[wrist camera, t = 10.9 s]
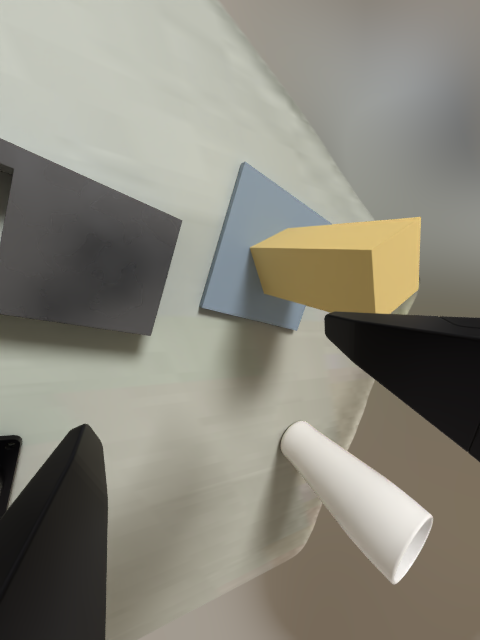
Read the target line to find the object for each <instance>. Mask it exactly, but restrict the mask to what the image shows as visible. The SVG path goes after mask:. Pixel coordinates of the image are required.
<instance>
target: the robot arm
mask: <svg viewBox="0 0 480 640" xmlns="http://www.w3.org/2000/svg"><path fill="white" fill-rule="evenodd" d="M324 320H325V334H326V336H327V338H328V339H329V340H330V341H331V342H332V343H333V344H335V345H336V346H337V347H338V348H339V349H340V350H341V351H342V352H343V353H344V354H345V355H346V356H347V357H348V358H349V359H350V360H351V361H353V362H354V363H355V364H356V365H357V366H359V367H360V368H361V369H362V370H364V371H365V372H366V373H367V374H369V375H370V376H371V377H373V378H374V379H375V380H376V381H378V382H379V383H380V384H381V385H383V386H384V387H385V388H386V389H388V390H389V391H391V392H392V393H393V394H394V395H395V396H397V397H398V398H399V399H401V400H402V401H403V402H404V403H406V404H407V405H408V406H410V407H411V408H412V409H413V410H414V411H416V412H417V413H419V414H420V415H421V416H422V417H423V418H425V419H426V420H427V421H429V422H430V423H431V424H432V425H434V426H435V427H436V428H437V429H439V430H440V431H441V432H443V433H444V434H445V435H446V436H448V437H449V438H450V439H451V440H453V441H454V442H455V443H457V444H458V445H459V446H460V447H462V448H463V449H464V450H465V451H467V452H468V453H469V454H470V455H471V456H473V457H474V458H475V459H477V460H478V461H479V462H480V318H468V317H444V316H442V317H441V316H440V317H438V316H422V315H421V316H420V315H400V314H379V313H358V312H337V311H334V312H331V313H329V314H327V315H326V316H325V319H324ZM8 443H15V444H14V445H8ZM21 443H22V438H21V437H20V436H17V435H10V436H0V640H105V623H106V573H107V523H108V495H107V484H106V474H105V464H104V454H103V446H102V443H101V441H100V439H99V438H98V437H97V435H96V434H95V432H94V431H93V430H92V428H91V427H90V426H89V425H88V424H83V425H80V426H78V427H76V428H74V429H72V430H70V431H69V432H68V434H67V435H66V436H65V438H64V439H63V440H62V441H61V443H60V444H59V445H58V446H57V448H56V449H55V450H54V451H53V453H52V454H51V455H50V457H49V458H48V459H47V460H46V462H45V463H44V464H43V465H42V467H41V468H40V469H39V470H38V472H37V473H36V474H35V476H34V477H33V478H32V479H31V481H30V482H29V483H28V484H27V486H26V487H25V488H24V490H23V491H22V492H21V493H20V495H19V496H18V497H17V498H16V500H15V501H14V502H13V503H12V505H11V506H10V507H9V509H8V510H7V507H8V503H9V498H10V494H11V489H12V484H13V480H14V475H15V471H16V466H17V462H18V457H19V453H20V448H21Z"/></svg>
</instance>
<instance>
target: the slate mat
mask: <svg viewBox="0 0 480 640" xmlns="http://www.w3.org/2000/svg"><path fill="white" fill-rule="evenodd" d="M320 225H332V224H331V223H330V222H329V221H327V220H326V219H324V218H323V217H322V216H320V215H319V214H317V213H316V212H315V211H313V210H312V209H310V208H309V207H308V206H306V205H305V204H303V203H302V202H301V201H299V200H298V199H297V198H295V197H294V196H292V195H291V194H290V193H288V192H287V191H285V190H284V189H283V188H281V187H280V186H278V185H277V184H276V183H274V182H273V181H271V180H270V179H269V178H267V177H266V176H264V175H263V174H262V173H260V172H259V171H258V170H256V169H255V168H253V167H252V166H251V165H249V164H248V163H246V162H244V163H242V164H241V166H240V170H239V173H238V177H237V180H236V183H235V187H234V190H233V194H232V197H231V200H230V204H229V207H228V211H227V214H226V217H225V221H224V224H223V228H222V231H221V234H220V238H219V241H218V245H217V248H216V251H215V255H214V258H213V262H212V265H211V269H210V272H209V275H208V279H207V282H206V286H205V289H204V292H203V296H202V299H201V303H200V307H202V308H205V309H209V310H213V311H217V312H222V313H226V314H230V315H234V316H238V317H242V318H247V319H251V320H255V321H259V322H263V323H267V324H271V325H276V326H280V327H284V328H288V329H292V330H296V331H297V329H298V327H299V324H300V321H301V318H302V315H303V312H304V309H305V306H306V305H303V304H299V303H296V302H292V301H288V300H285V299H281V298H278V297H274V296H271V295H267V294H264V292H263V289H262V286H261V282H260V279H259V276H258V273H257V270H256V266H255V263H254V260H253V257H252V254H251V250H250V247H252V246H254V245H256V244H258V243H260V242H262V241H264V240H266V239H267V238H269V237H271V236H273V235H275V234H277V233H279V232H281V231H283V230H285V229H287V228H296V227H308V226H320Z"/></svg>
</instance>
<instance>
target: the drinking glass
mask: <svg viewBox="0 0 480 640" xmlns="http://www.w3.org/2000/svg"><path fill="white" fill-rule="evenodd" d="M281 451H282V453H283V454H284V456H285V457H286V458H287V459H288V460H289V461H290V462H291V463H292V465H293V466H294V467H295V468H296V470H297V471H298V472H299V473H300V475H301V476H302V477H303V478H304V480H305V481H306V482H307V484H308V485H309V486H310V487H311V489H312V490H313V491H314V493H315V494H316V495H317V496H318V498H319V499H320V500H321V502H322V503H323V504H324V505H325V507H326V508H327V509H328V511H329V512H330V513H331V514H332V516H333V517H334V518H335V520H336V521H337V522H338V523H339V525H340V526H341V527H342V528H343V530H344V531H345V532H346V534H347V535H348V536H349V537H350V538H351V540H352V541H353V542H354V543H355V544H356V545H357V547H358V548H359V549H360V550H361V551H362V552H363V553H364V555H365V556H366V557H367V558H368V559H369V560H370V561H371V562H372V563H373V564H374V565H375V566H376V568H377V569H378V570H379V571H380V572H381V573H382V574H383V575H384V576H385V577H386V578H387V579H388V580H389V581H390V582H391V583H392V584H396V583H398V582H399V581H400V580H401V579H402V578H403V576H404V575H405V574H406V573H407V571H408V570H409V568H410V567H411V566H412V564H413V562H414V561H415V559H416V558H417V556H418V554H419V552H420V550H421V549H422V547H423V545H424V543H425V541H426V539H427V537H428V534H429V532H430V530H431V526H432V523H433V517H432V515H431V514H430V513H429V512H427V511H426V510H425V509H424V508H423V507H421V506H420V505H419V504H418V503H417V502H416V501H414V500H413V499H412V498H411V497H410V496H408V495H407V494H406V493H404V491H402V490H401V489H400V488H398V487H397V486H396V485H395V484H393V483H392V482H391V481H389V480H388V479H387V478H385V477H384V476H382V475H381V474H379V473H378V472H377V471H375V470H374V469H372V468H371V467H370V466H368V465H366V464H365V463H364V462H362V461H361V460H359V459H358V458H356V457H355V456H353V455H352V454H351V453H349V452H348V451H346V450H345V449H343V448H342V447H340V446H339V445H338V444H336V443H335V442H333V441H332V440H330V439H329V438H327V437H326V436H325V435H323V434H322V433H320V432H319V431H318V430H316V429H315V428H314V427H313V426H311V425H310V424H309V423H307V422H305V421H298V422H295V423H293V424H292V425H291V426H290V427H289V428H288V429H287V430H286V432H285V433H284V435H283V437H282V440H281Z"/></svg>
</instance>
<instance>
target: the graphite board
mask: <svg viewBox="0 0 480 640" xmlns="http://www.w3.org/2000/svg"><path fill="white" fill-rule="evenodd" d="M0 170H1V171H3V172H6V173H8V174H11V175H13V178H12V183H11V189H10V194H9V199H8V205H7V210H6V215H5V221H4V226H3V231H2V237H1V242H0V314H4V315H11V316H18V317H25V318H32V319H38V320H45V321H52V322H59V323H66V324H73V325H80V326H87V327H93V328H100V329H107V330H114V331H121V332H128V333H135V334H142V335H148V336H151V333H152V329H153V326H154V322H155V318H156V315H157V311H158V307H159V304H160V300H161V297H162V293H163V289H164V286H165V282H166V278H167V275H168V271H169V267H170V264H171V260H172V256H173V253H174V249H175V245H176V242H177V238H178V234H179V231H180V227H181V223H182V220H180V219H178V218H176V217H173V216H171V215H169V214H167V213H165V212H162V211H160V210H158V209H156V208H153V207H151V206H149V205H147V204H145V203H142V202H140V201H138V200H136V199H134V198H131V197H129V196H127V195H125V194H122V193H120V192H118V191H116V190H114V189H111V188H109V187H107V186H105V185H103V184H100V183H98V182H96V181H94V180H92V179H89V178H87V177H85V176H83V175H80V174H78V173H76V172H74V171H72V170H69V169H67V168H65V167H63V166H61V165H58V164H56V163H54V162H52V161H49V160H47V159H45V158H43V157H41V156H38V155H36V154H34V153H32V152H30V151H27V150H25V149H23V148H21V147H18V146H16V145H14V144H12V143H10V142H7V141H5V140H3V139H1V138H0Z"/></svg>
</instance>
